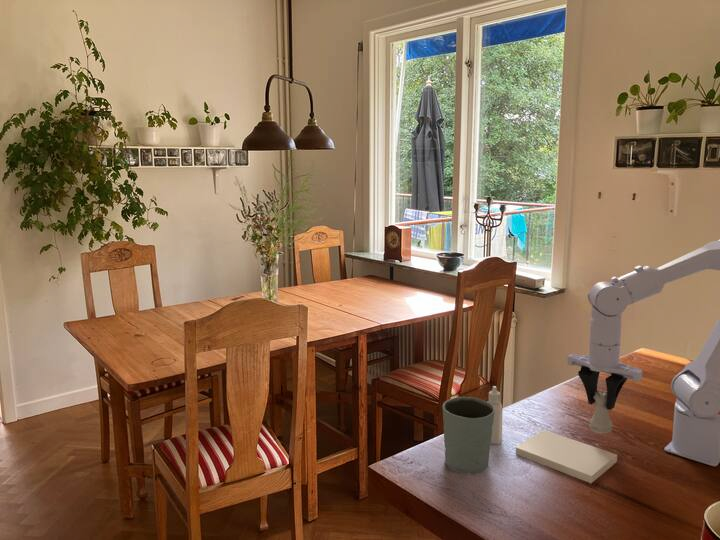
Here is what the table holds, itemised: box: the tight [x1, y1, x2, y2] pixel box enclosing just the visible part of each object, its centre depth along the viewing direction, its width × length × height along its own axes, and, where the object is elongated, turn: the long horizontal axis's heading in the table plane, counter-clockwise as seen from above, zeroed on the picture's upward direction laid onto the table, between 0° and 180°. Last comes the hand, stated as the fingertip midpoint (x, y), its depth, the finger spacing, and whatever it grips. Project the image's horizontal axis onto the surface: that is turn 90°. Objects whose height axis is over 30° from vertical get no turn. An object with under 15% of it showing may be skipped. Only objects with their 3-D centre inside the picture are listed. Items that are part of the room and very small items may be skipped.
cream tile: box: [515, 429, 618, 484], centre depth 118 cm, size 16×11×2 cm
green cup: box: [442, 396, 495, 474], centre depth 116 cm, size 10×10×12 cm
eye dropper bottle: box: [488, 385, 503, 445], centre depth 125 cm, size 4×6×12 cm
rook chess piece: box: [588, 390, 613, 435], centre depth 120 cm, size 4×4×8 cm
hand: (601, 405), depth 119 cm, fingers closed on rook chess piece, 3 cm apart
